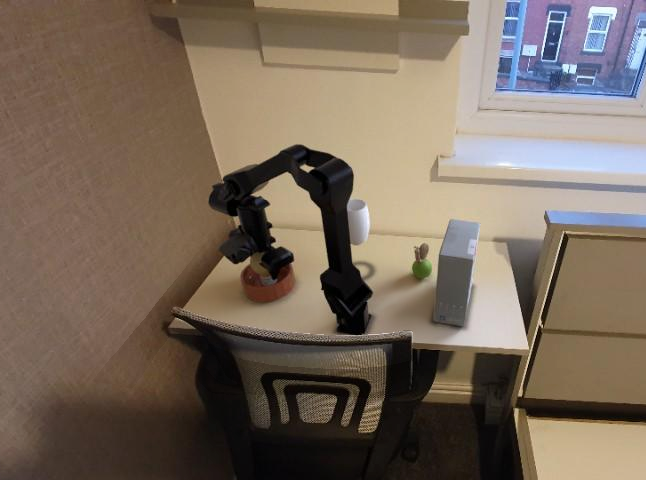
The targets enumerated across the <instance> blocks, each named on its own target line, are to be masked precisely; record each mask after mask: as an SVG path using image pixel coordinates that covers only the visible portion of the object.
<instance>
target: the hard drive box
mask: <svg viewBox="0 0 646 480" xmlns="http://www.w3.org/2000/svg"><path fill="white" fill-rule="evenodd" d="M480 230H481V223H480V222H475V221H468V220H461V219H454V218H450V220H449V221H448V224H447V228H446V230H445V234H444V237H443V240H442V242H441V246H440V249H439V253H438V259H437V273H436V282H435V283H436V284H435V296H434V308H433V321H434V322H436V323H441V324H447V325H453V326H459V327H465V323H466V319H467V313H468V309H469V303H470V297H471V293H472V286H473V279H474V274H475V273H474V272H475V265H476V259H477V251H478V245H479V237H480Z"/></svg>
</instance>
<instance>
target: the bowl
mask: <svg viewBox="0 0 646 480" xmlns="http://www.w3.org/2000/svg"><path fill="white" fill-rule="evenodd" d="M239 278H240V282H241V286H242V288H243V293H244V294H245V296H246V297H247V298H248V299H249V300H252V301H255V302H259V303H260V302H261V303H264V302H265V303H266V302H273V301H276V300H279V299H281V298H283V297H285V296H287V295H288V294H289V293H290V292H291V291H293V289H294V287H295V285H296V277H295V272H294V268H293V265H292V263H290V264H288V265H286V266H285V267H283V268H281V269H280V272H279V275H278V277H277V283H276V284H274V285H270V286H264V285H263V284H262V281H261V278H260V274H258V273H256V272H255V271H254V270H253V269H252V267H251V265H250V263H249V264H247V265H246V266H245V267H244V268H243V269H242V271H241V272H240V275H239Z"/></svg>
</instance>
